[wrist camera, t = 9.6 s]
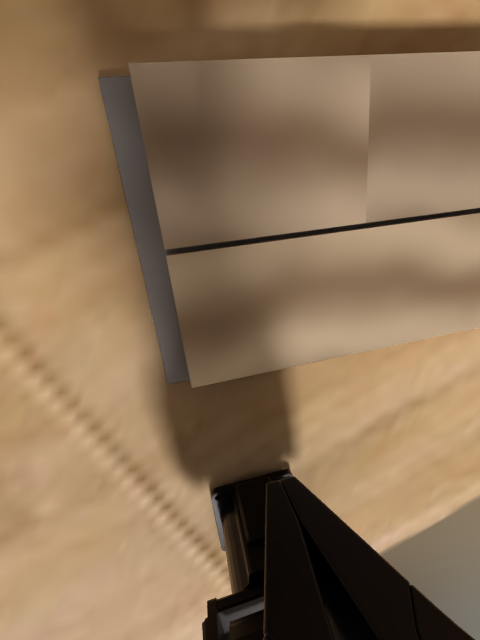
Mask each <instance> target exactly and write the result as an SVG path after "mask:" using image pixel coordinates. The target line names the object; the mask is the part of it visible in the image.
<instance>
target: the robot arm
mask: <svg viewBox="0 0 480 640" xmlns="http://www.w3.org/2000/svg"><path fill="white" fill-rule="evenodd" d="M217 495H218V496H217ZM211 498H212V504H213V509H214V514H215V518H216V523H217V528H218V533H219V538H220V543H221V548H222V550H223V551H226V555H227V562H228V569H229V576H230V582H231V589H232V594H231V595H228V596H226V597H223V598H220V599H216V598H214V599H211V600H209V601H207V609H208V617H207V618H206V619H205V621H204V622H203V623H202V630H203V640H475V639H473V638H472V637H471V636H470V635H468V633H466V632H465V631H463V629H461V628H460V627H459V626H458V625H457V624H456V623H454V622H453V621H452V620H451V619H450V618H449V617H447V616H446V615H445V614H444V613H443V612H442V611H441V610H439V609H438V608H437V607H436V606H435V605H434V604H433V603H432V602H431V601H429V600H428V599H427V598H426V597H425V596H424V595H423V594H422V593H421V592H420V591H418V590H417V588H415V587H414V586H413V585H409V581H408V580H407V579H405V578H404V577H403V576H402V575H401V574H400V573H399V572H398V571H397V570H396V569H395V568H394V567H392V566H391V565H390V564H389V563H388V562H387V561H386V560H385V559H384V558H383V557H382V556H380V555H379V554H378V553H377V552H376V551H375V550H374V549H373V548H372V547H371V546H370V545H368V544H367V543H366V542H365V541H364V540H363V539H362V538H361V537H360V536H359V535H358V534H357V533H355V532H354V531H353V530H352V529H351V528H350V527H349V526H348V525H347V524H346V523H345V522H343V521H342V520H341V519H340V518H339V517H338V516H337V515H336V514H335V513H334V512H333V511H332V510H330V509H329V508H328V507H327V506H326V505H325V504H324V503H323V502H322V501H321V500H320V499H318V498H317V497H316V496H315V495H314V494H313V493H312V492H311V491H310V490H309V489H308V488H307V487H305V486H304V485H303V484H302V483H301V482H300V481H299V480H298V479H297V478H296V477H293V475H292V473H291V471H290V470H283V471H279V472H276V473H272V474H268V475H264V476H261V477H257V478H253V479H249V480H246V481H242V482H238V483H234V484H231V485H227V486H223V487H219V488H216V489H214V490H213V491H212V492H211Z"/></svg>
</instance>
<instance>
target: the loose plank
mask: <svg viewBox="0 0 480 640" xmlns="http://www.w3.org/2000/svg"><path fill="white" fill-rule="evenodd" d="M166 259H167V264H168V269H169V274H170V279H171V284H172V289H173V295H174V300H175V305H176V310H177V315H178V320H179V325H180V330H181V336H182V341H183V346H184V351H185V356H186V361H187V366H188V371H189V377H190V382H191V387H192V388H195V387H199V386H204V385H209V384H214V383H219V382H223V381H228V380H233V379H238V378H242V377H247V376H252V375H257V374H261V373H266V372H271V371H276V370H281V369H285V368H290V367H295V366H300V365H304V364H309V363H314V362H319V361H323V360H328V359H333V358H338V357H343V356H347V355H352V354H357V353H362V352H366V351H371V350H376V349H381V348H385V347H390V346H395V345H400V344H405V343H409V342H414V341H419V340H424V339H428V338H433V337H438V336H443V335H447V334H452V333H457V332H462V331H467V330H471V329H476V328H480V212H475V213H467V214H460V215H453V216H445V217H438V218H431V219H423V220H416V221H409V222H401V223H394V224H387V225H379V226H372V227H365V228H357V229H350V230H342V231H335V232H328V233H320V234H313V235H306V236H298V237H291V238H284V239H276V240H269V241H262V242H254V243H247V244H240V245H232V246H225V247H217V248H210V249H203V250H195V251H188V252H181V253H173V254H167V255H166Z"/></svg>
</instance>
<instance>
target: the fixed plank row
mask: <svg viewBox="0 0 480 640" xmlns="http://www.w3.org/2000/svg"><path fill="white" fill-rule="evenodd" d="M128 66H129V71H130V76H131V81H132V86H133V91H134V96H135V102H136V107H137V112H138V117H139V122H140V127H141V132H142V137H143V142H144V147H145V152H146V157H147V162H148V167H149V172H150V178H151V183H152V188H153V193H154V198H155V203H156V208H157V213H158V218H159V223H160V228H161V233H162V238H163V243H164V248H165V250H167V249H175V248H182V247H190V246H197V245H205V244H212V243H220V242H227V241H235V240H242V239H250V238H257V237H265V236H272V235H280V234H287V233H295V232H302V231H310V230H317V229H325V228H332V227H340V226H347V225H355V224H362V223H370V222H377V221H385V220H392V219H400V218H407V217H415V216H422V215H430V214H437V213H445V212H452V211H460V210H467V209H475V208H480V51H466V52H436V53H406V54H377V55H347V56H318V57H288V58H258V59H229V60H199V61H170V62H140V63H128Z"/></svg>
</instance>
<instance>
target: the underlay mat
mask: <svg viewBox="0 0 480 640" xmlns="http://www.w3.org/2000/svg"><path fill="white" fill-rule="evenodd" d="M98 79H99V83H100V88H101V92H102V97H103V101H104V105H105V110H106V114H107V119H108V123H109V127H110V132H111V136H112V140H113V145H114V149H115V154H116V158H117V162H118V167H119V171H120V175H121V180H122V184H123V189H124V193H125V197H126V202H127V206H128V210H129V215H130V219H131V224H132V228H133V232H134V237H135V241H136V245H137V250H138V254H139V259H140V263H141V267H142V272H143V276H144V281H145V285H146V289H147V294H148V298H149V302H150V307H151V311H152V316H153V320H154V324H155V329H156V333H157V337H158V342H159V346H160V351H161V355H162V359H163V364H164V368H165V372H166V377H167V381H168V384H171V383H176V382H181V381H186V380H190V377H189V371H188V366H187V361H186V356H185V351H184V346H183V341H182V336H181V330H180V325H179V320H178V315H177V310H176V305H175V300H174V295H173V289H172V284H171V279H170V274H169V269H168V264H167V259H166V255H167V254H173V253H181V252H188V251H195V250H203V249H210V248H217V247H225V246H232V245H240V244H247V243H254V242H262V241H269V240H276V239H284V238H291V237H298V236H306V235H313V234H320V233H328V232H335V231H342V230H350V229H357V228H365V227H372V226H379V225H387V224H394V223H401V222H409V221H416V220H423V219H431V218H438V217H445V216H453V215H460V214H467V213H475V212H480V208H475V209H467V210H460V211H452V212H445V213H437V214H430V215H422V216H415V217H407V218H400V219H392V220H385V221H377V222H370V223H362V224H355V225H347V226H340V227H332V228H325V229H317V230H310V231H302V232H295V233H287V234H280V235H272V236H265V237H257V238H250V239H242V240H235V241H227V242H220V243H212V244H205V245H197V246H190V247H182V248H175V249H167V250H165V248H164V243H163V238H162V233H161V228H160V223H159V218H158V213H157V208H156V203H155V198H154V193H153V188H152V183H151V178H150V172H149V167H148V162H147V157H146V152H145V147H144V142H143V137H142V132H141V127H140V122H139V117H138V112H137V107H136V102H135V96H134V91H133V86H132V81H131V76H121V77H98Z"/></svg>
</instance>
